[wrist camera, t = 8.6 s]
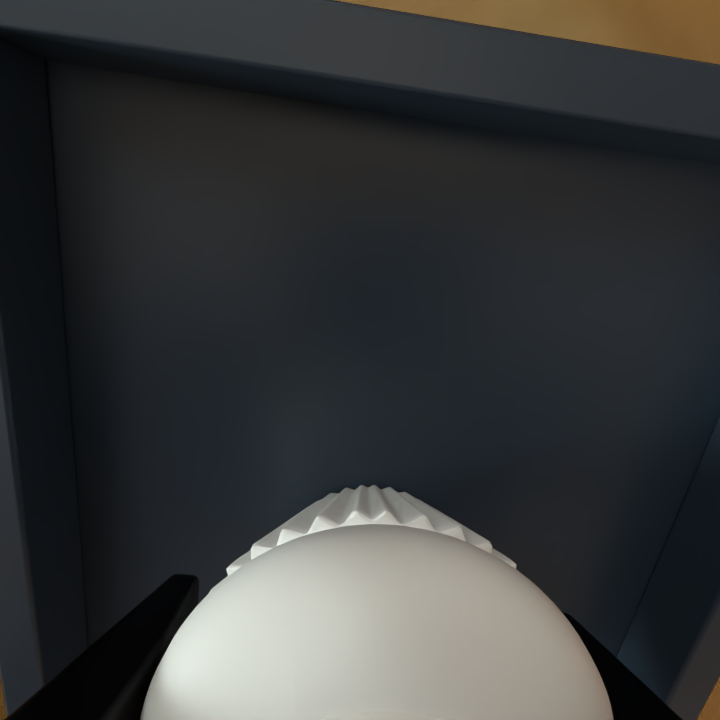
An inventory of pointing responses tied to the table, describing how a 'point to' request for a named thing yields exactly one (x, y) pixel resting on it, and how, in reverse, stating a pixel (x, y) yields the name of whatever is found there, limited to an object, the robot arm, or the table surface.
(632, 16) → the table surface
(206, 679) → the muffin
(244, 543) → the tray
